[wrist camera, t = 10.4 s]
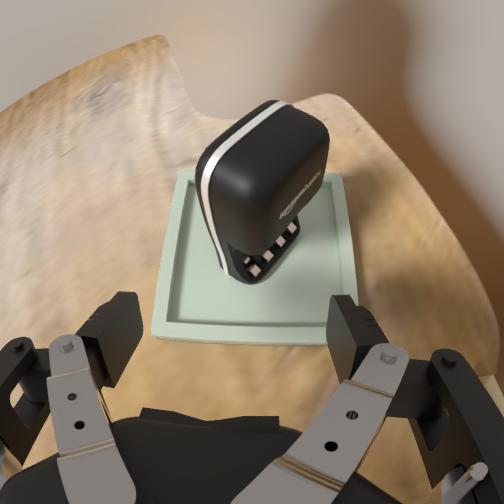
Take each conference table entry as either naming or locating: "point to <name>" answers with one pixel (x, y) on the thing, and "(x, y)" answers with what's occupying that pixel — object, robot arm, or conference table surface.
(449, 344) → the conference table surface
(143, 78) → the conference table surface
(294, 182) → the battery charger
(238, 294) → the tray
